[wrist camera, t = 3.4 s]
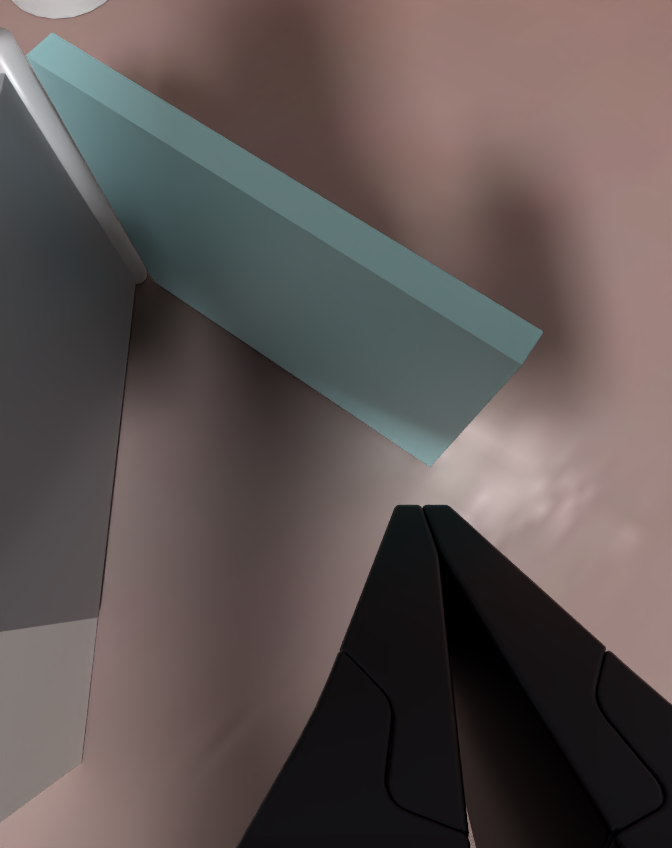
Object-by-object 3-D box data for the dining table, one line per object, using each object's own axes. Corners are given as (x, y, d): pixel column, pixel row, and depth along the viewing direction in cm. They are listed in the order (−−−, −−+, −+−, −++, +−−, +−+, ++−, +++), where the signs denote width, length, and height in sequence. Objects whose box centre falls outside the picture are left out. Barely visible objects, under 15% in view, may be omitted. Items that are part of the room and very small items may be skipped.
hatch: (153, 281, 20) (25, 55, 12) (184, 246, 21) (84, 4, 12) (430, 467, 19) (522, 365, 10) (458, 424, 19) (569, 291, 10)
